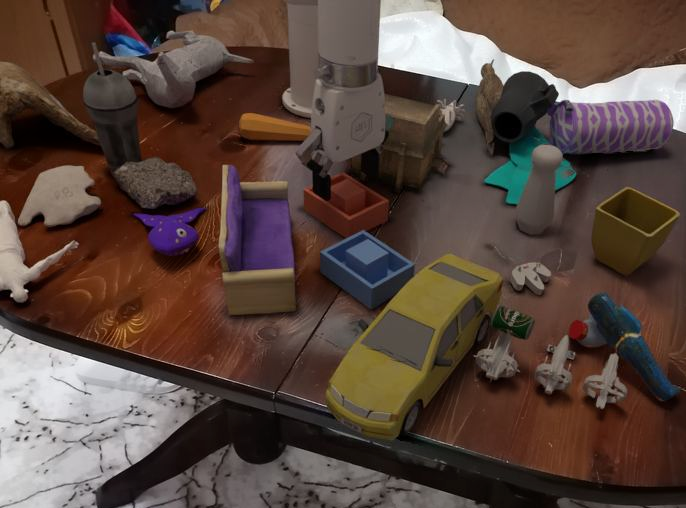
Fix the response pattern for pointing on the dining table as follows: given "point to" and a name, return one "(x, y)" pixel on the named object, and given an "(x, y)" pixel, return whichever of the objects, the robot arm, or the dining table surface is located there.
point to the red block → (347, 197)
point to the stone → (155, 182)
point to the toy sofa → (256, 246)
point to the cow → (450, 112)
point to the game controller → (529, 276)
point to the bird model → (488, 101)
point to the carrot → (271, 128)
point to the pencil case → (609, 126)
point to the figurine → (19, 257)
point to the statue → (176, 67)
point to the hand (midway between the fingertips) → (346, 185)
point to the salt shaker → (539, 191)
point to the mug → (521, 105)
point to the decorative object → (60, 197)
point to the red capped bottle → (586, 333)
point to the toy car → (413, 347)
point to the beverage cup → (113, 114)
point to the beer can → (512, 323)
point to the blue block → (368, 261)
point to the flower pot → (630, 229)
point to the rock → (33, 104)
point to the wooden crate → (409, 146)
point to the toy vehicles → (552, 370)
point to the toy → (171, 232)
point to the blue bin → (355, 284)
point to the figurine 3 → (629, 343)
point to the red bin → (340, 221)
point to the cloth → (523, 167)
